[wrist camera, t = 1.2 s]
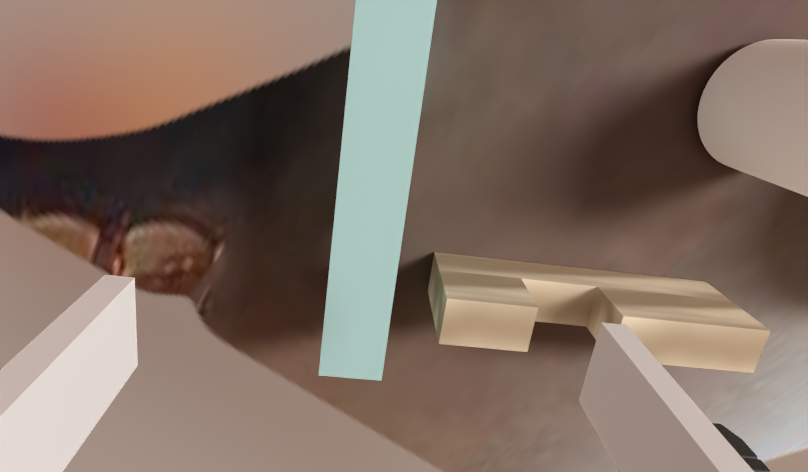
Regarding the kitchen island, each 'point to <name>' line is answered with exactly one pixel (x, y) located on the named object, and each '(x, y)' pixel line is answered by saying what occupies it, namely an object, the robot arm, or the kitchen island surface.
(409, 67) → the teal board
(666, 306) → the birch rail
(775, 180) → the beverage can
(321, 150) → the kitchen island surface
